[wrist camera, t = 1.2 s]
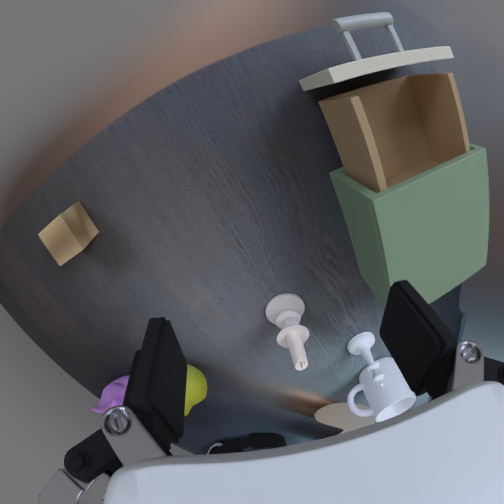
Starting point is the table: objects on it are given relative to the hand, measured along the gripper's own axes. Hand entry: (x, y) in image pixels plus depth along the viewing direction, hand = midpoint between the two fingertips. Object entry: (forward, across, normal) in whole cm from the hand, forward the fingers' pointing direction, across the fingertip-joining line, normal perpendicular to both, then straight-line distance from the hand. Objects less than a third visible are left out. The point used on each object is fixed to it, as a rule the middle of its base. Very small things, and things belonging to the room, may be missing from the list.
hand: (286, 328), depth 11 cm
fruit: (+20, +13, +26) cm, 35 cm away
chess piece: (+20, -16, +26) cm, 37 cm away
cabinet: (+19, -18, +3) cm, 27 cm away
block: (+19, +20, 0) cm, 28 cm away
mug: (+20, -20, +37) cm, 46 cm away
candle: (+20, -3, +16) cm, 25 cm away
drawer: (+18, -14, -9) cm, 25 cm away
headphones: (+20, +7, +63) cm, 66 cm away
